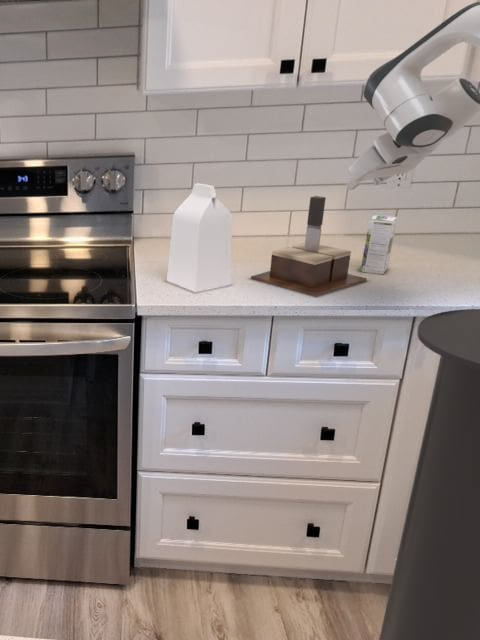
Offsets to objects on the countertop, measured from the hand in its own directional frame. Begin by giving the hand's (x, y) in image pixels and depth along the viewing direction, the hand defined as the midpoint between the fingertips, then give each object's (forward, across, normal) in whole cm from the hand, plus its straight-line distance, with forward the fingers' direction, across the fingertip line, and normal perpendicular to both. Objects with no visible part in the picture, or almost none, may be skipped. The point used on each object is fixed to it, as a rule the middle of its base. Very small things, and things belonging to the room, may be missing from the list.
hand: (362, 184), depth 164 cm
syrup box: (+22, -19, +14) cm, 33 cm away
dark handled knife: (+21, +1, +6) cm, 22 cm away
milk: (+37, +25, 0) cm, 45 cm away
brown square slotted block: (+26, +1, +11) cm, 28 cm away
